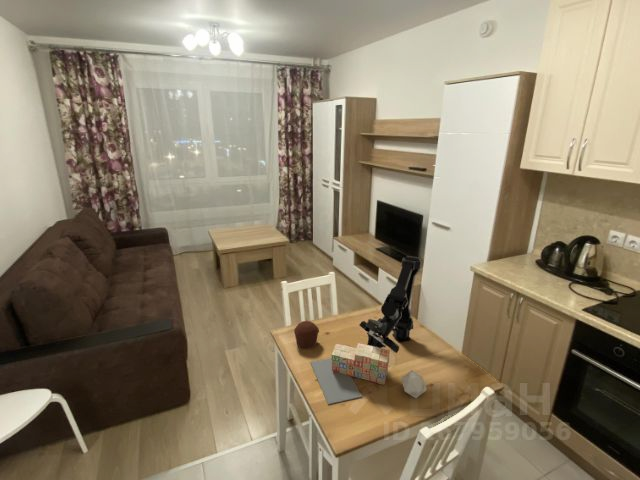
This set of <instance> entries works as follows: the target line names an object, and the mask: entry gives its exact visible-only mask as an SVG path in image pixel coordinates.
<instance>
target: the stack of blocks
mask: <svg viewBox="0 0 640 480" xmlns="http://www.w3.org/2000/svg"><path fill="white" fill-rule="evenodd" d="M390 350H391V349H390ZM390 350H389V349H385V348H379V347H373V346H369V345H367V344H365V343H364V344H363V343H358V342H357V346H356V347H351V346H347V345H344V344H339V343H336V344H335V345H334V348H333V350H332V353H331V358H332V371H335V372H339V373H342V374H346V375H349V376H351V377H354V378H358V379H362V380H366V381H369V382H371V383H375V384H379V385H382V386H385V385H386V381H387V376H388V368H389V362H390V361H389V360H390Z"/></svg>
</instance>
